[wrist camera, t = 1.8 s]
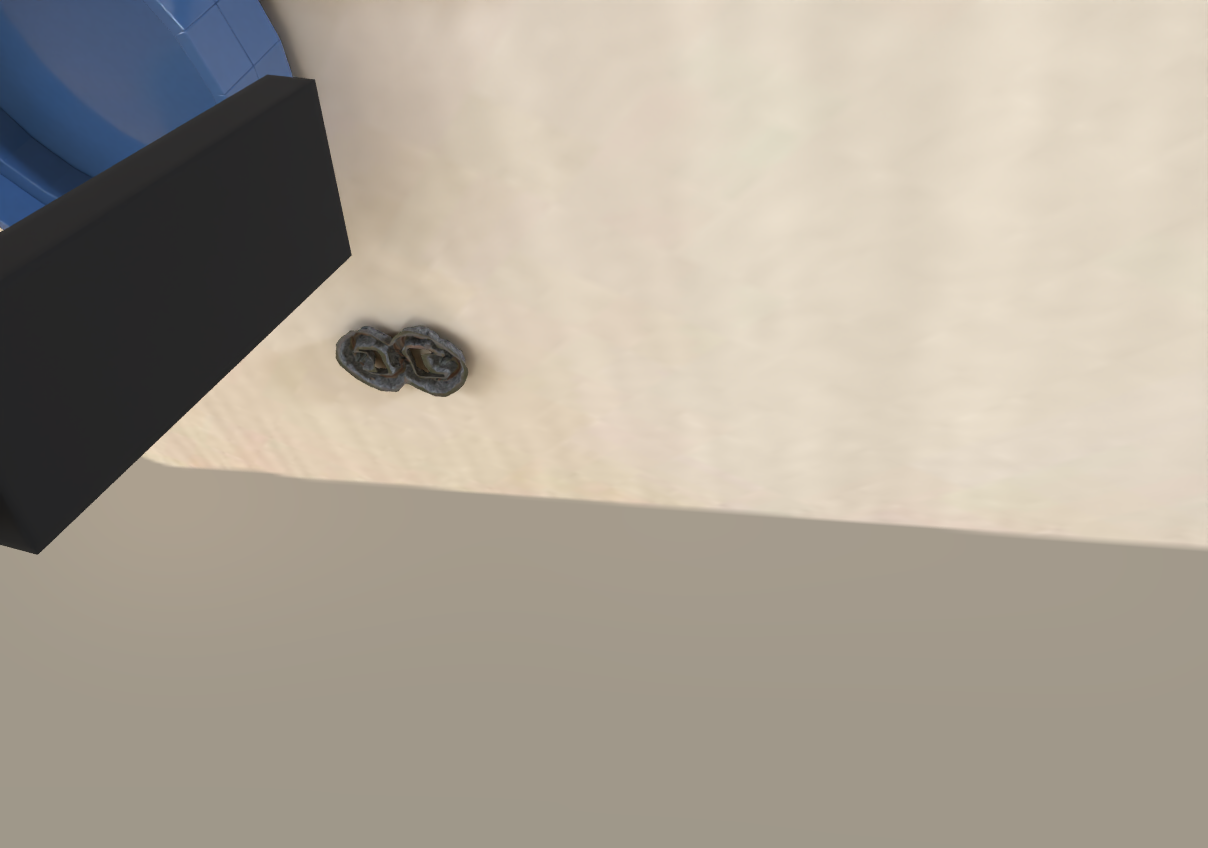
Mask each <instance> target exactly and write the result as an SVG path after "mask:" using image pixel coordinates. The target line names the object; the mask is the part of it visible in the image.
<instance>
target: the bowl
mask: <svg viewBox="0 0 1208 848" xmlns="http://www.w3.org/2000/svg"><path fill="white" fill-rule="evenodd" d="M266 75H276V76H286V77H293V75H292V72H291V69H290V66H289V63H288V60H287V57H286V54H285V51H284V48H283V45H282V42H281V40H280V38H279V36H278V34H277V32H276V30H275V29H274V27H273V25H272V23H271V22H270V20H269V18H268V16H267V15H266V13H265V11H264V9H263V8H262V6H261V4H260V2H259V0H0V228H2V229H3V230H5V229H6V228H8V227H10V226H12V225H13V224H15V223H17V222H18V221H20V220H22V219H23V218H25V217H27V216H28V215H30V214H32V213H34V212H35V211H37V210H39V209H40V208H42V207H44V206H45V205H47V204H49V203H51V202H52V201H54V200H56V199H57V198H59V197H61V196H62V195H64V194H66V193H67V192H69V191H71V190H73V189H74V188H76V187H78V186H79V185H81V184H83V183H84V182H86V181H88V180H89V179H91V178H93V177H95V176H96V175H98V174H100V173H101V172H103V171H105V170H106V169H108V168H110V167H111V166H113V165H115V164H117V163H118V162H120V161H122V160H123V159H125V158H127V157H128V156H130V155H132V154H133V153H135V152H137V151H139V150H140V149H142V148H144V147H145V146H147V145H149V144H150V143H152V142H154V141H155V140H157V139H159V138H161V137H162V136H164V135H166V134H167V133H169V132H171V131H172V130H174V129H176V128H177V127H179V126H181V125H183V124H184V123H186V122H188V121H189V120H191V119H193V118H194V117H196V116H198V115H199V114H201V113H203V112H205V111H206V110H208V109H210V108H211V107H213V106H215V105H216V104H218V103H220V102H222V101H223V100H225V99H227V98H228V97H230V96H232V95H233V94H235V93H237V92H238V91H240V90H242V89H244V88H245V87H247V86H249V85H250V84H252V83H254V82H255V81H257V80H259V79H260V78H262V77H264V76H266Z"/></svg>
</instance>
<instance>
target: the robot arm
mask: <svg viewBox="0 0 1208 848" xmlns="http://www.w3.org/2000/svg"><path fill="white" fill-rule="evenodd" d="M350 256H352V255H351V250H350V245H349V240H348V236H347V231H346V226H345V221H344V216H343V212H342V207H341V202H340V197H339V193H338V188H337V183H336V178H335V173H334V169H333V164H332V159H331V154H330V149H329V145H328V140H327V135H326V130H325V126H324V121H323V116H322V111H321V106H320V102H319V97H318V92H317V87H316V83H315V80H314V79H305V78H295V77H286V76H276V75H266V76H264V77H262V78H260V79H259V80H257V81H255V82H254V83H252V84H250V85H249V86H247V87H245V88H244V89H242V90H240V91H238V92H237V93H235V94H233V95H232V96H230V97H228V98H227V99H225V100H223V101H222V102H220V103H218V104H216V105H215V106H213V107H211V108H210V109H208V110H206V111H205V112H203V113H201V114H199V115H198V116H196V117H194V118H193V119H191V120H189V121H188V122H186V123H184V124H183V125H181V126H179V127H177V128H176V129H174V130H172V131H171V132H169V133H167V134H166V135H164V136H162V137H161V138H159V139H157V140H155V141H154V142H152V143H150V144H149V145H147V146H145V147H144V148H142V149H140V150H139V151H137V152H135V153H133V154H132V155H130V156H128V157H127V158H125V159H123V160H122V161H120V162H118V163H117V164H115V165H113V166H111V167H110V168H108V169H106V170H105V171H103V172H101V173H100V174H98V175H96V176H95V177H93V178H91V179H89V180H88V181H86V182H84V183H83V184H81V185H79V186H78V187H76V188H74V189H73V190H71V191H69V192H67V193H66V194H64V195H62V196H61V197H59V198H57V199H56V200H54V201H52V202H51V203H49V204H47V205H45V206H44V207H42V208H40V209H39V210H37V211H35V212H34V213H32V214H30V215H28V216H27V217H25V218H23V219H22V220H20V221H18V222H17V223H15V224H13V225H12V226H10V227H8V228H6V229H5V230H3V231H1V232H0V545H3V546H7V547H11V548H14V549H18V550H22V551H26V552H29V553H33V554H39V553H40V552H41V551H42V550H43V549H44V548H45V547H46V546H47V545H48V544H50V543H51V542H52V541H53V540H54V539H55V538H56V537H57V536H58V535H59V534H60V533H61V532H62V531H63V530H64V529H65V528H66V527H67V526H68V525H69V524H70V523H71V522H73V521H74V520H75V519H76V518H77V517H78V516H79V515H80V514H81V513H82V512H83V511H84V510H85V509H86V508H87V507H88V506H89V505H90V504H91V503H93V502H94V501H95V500H96V499H97V498H98V497H99V496H100V495H101V494H102V493H103V492H104V491H105V490H106V489H107V488H108V487H109V486H110V485H111V484H112V483H114V482H115V481H116V480H117V479H118V478H119V477H120V476H121V475H122V474H123V473H124V472H125V471H126V470H127V469H128V468H129V467H130V466H131V465H132V464H133V463H134V462H135V461H137V460H138V459H139V458H140V457H141V456H142V455H143V454H144V453H145V452H146V451H147V450H148V449H149V448H150V447H151V446H152V445H153V444H154V443H155V442H156V441H158V440H159V439H160V438H161V437H162V436H163V435H164V434H165V433H166V432H167V431H168V430H169V429H170V428H171V427H172V426H173V425H174V424H175V423H176V422H177V421H179V420H180V419H181V418H182V417H183V416H184V415H185V414H186V413H187V412H188V411H189V410H190V409H191V408H192V407H193V406H194V405H195V404H196V403H197V402H198V401H199V400H201V399H202V398H203V397H204V396H205V395H206V394H207V393H208V392H209V391H210V390H211V389H212V388H213V387H214V386H215V385H216V384H217V383H218V382H219V381H220V380H222V379H223V378H224V377H225V376H226V375H227V374H228V373H229V372H230V371H231V370H232V369H233V368H234V367H235V366H236V365H237V364H238V363H239V362H240V361H241V360H242V359H244V358H245V357H246V356H247V355H248V354H249V353H250V352H251V351H252V350H253V349H254V348H255V347H256V346H257V345H258V344H259V343H260V342H261V341H262V340H263V339H264V338H266V337H267V336H268V335H269V334H270V333H271V332H272V331H273V330H274V329H275V328H276V327H277V326H278V325H279V324H280V323H281V322H282V321H283V320H284V319H285V318H287V317H288V316H289V315H290V314H291V313H292V312H293V311H294V310H295V309H296V308H297V307H298V306H299V305H300V304H301V303H302V302H303V301H304V300H305V299H306V298H307V297H309V296H310V295H311V294H312V293H313V292H314V291H315V290H316V289H317V288H318V287H319V286H320V285H321V284H322V283H323V282H324V281H325V280H326V279H327V278H328V277H330V276H331V275H332V274H333V273H334V272H335V271H336V270H337V269H338V268H339V267H340V266H341V265H342V264H343V263H344V262H345V261H346V260H347V259H348V258H349V257H350Z"/></svg>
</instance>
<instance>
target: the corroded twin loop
mask: <svg viewBox="0 0 1208 848" xmlns="http://www.w3.org/2000/svg"><path fill="white" fill-rule="evenodd" d="M380 333H382V334H383V335H382V334H380ZM409 348H417V349H427V350H429V351H431V352H432V353H431V354H424V355H421V357H422V360H423V363H424V366H425V367H426V368H427V369H428V370H429V373H426V372H425V371H424V370H421V369H420V368H418V367H417V366H416V363H415V359H414V358H413V356H412V354H411V352H410V350H409ZM373 350H375V351H377V352H378V353H379V354H380V356H381V358H382V360H383V363H384V364H385V366H386V367H387V368H386V369H385V368H380V369H379V368H376V367H375V366H374V364H375V358H376V357H375V354H374V352H373ZM336 359H337V361H338V363H339V364H340V366H342V367H343V368H344V369H345V370H346V371H347V372H349V373H350V374H351V375H352V376H354V377H355V378H356V379H358V380H360V381H362V382H363V383H365V384H367V385H369V386H370V387H374V388H376V389H378V390H380V391H391V392H397V391H399V390H400V389H401V388H402V387H403V386H404V384H410V385H412V386H414V387H415V388H417V389H420V390H422V391H424V392H427V393H429V394H431V395H434V396H440V397H446V396H449V395H450V394H452V393H454V392H456V391H458V390H459V389H460V388H461V387H462V386H463V385H464V383H465V381H466V378H467V375H468V370H467V367H466V365H465V358H464V355H463V353H462V351H461V350H459V349H458V348H457V347H455V345H453V344H452V343H450V342H449V341H448V340H444V339H441V338H439V336H438V334H437V333H435V332H434V331H432V330H430V329H429V328H426V327H423V326H417V327H411V328H405V329H403V331H402V332H400V333H398V334H397V335H396V336H394V337H393V338H391V337H390V336H389V335H387V334H385V333H383V332H380V331H378V330H375V329H374V328H373V327H370V326H364V327H361V329H359V330H358V331H349V332H348V333H347V334H346V335H344V336H343V337H341V338H340V339H339V341H338V342H337V344H336Z"/></svg>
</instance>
